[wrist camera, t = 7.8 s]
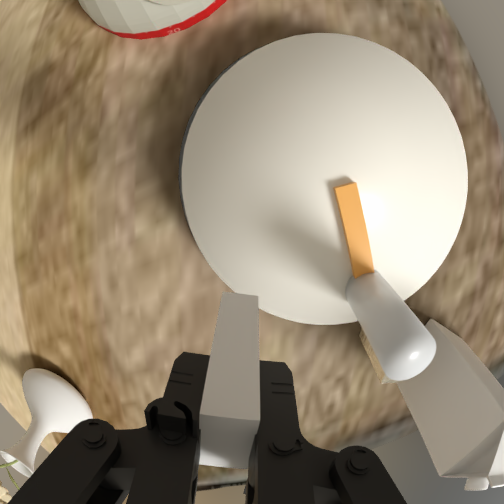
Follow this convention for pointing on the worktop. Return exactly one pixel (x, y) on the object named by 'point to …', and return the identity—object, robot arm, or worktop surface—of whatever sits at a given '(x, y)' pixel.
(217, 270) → the dial
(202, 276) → the worktop surface
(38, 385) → the flower in vase
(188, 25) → the kitchen timer
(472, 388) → the milk carton
